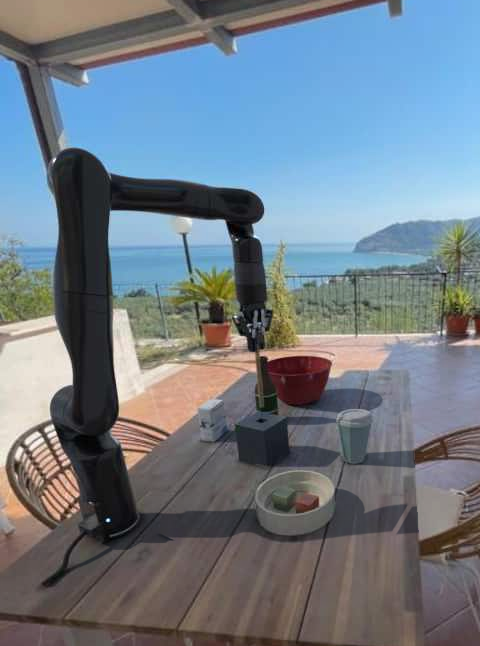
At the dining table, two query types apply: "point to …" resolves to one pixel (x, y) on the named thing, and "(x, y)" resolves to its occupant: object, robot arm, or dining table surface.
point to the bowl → (291, 521)
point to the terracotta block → (306, 503)
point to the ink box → (212, 420)
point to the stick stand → (262, 438)
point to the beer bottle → (266, 390)
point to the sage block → (284, 498)
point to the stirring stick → (259, 366)
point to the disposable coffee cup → (354, 434)
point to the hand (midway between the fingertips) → (256, 350)
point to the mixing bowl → (299, 378)
